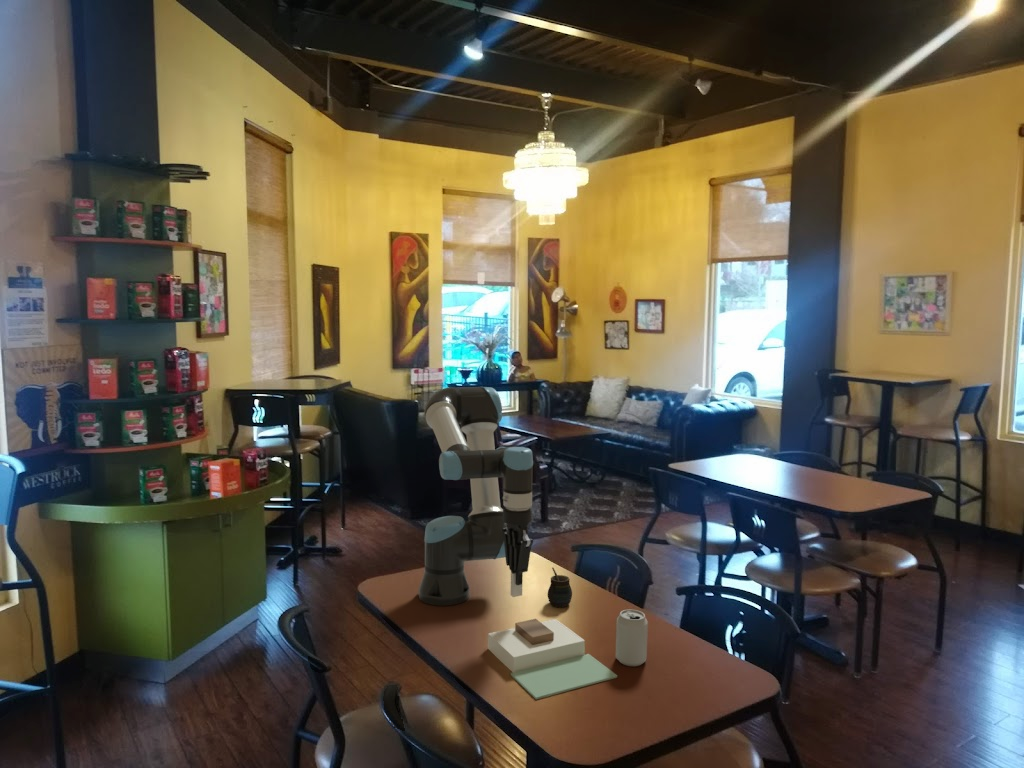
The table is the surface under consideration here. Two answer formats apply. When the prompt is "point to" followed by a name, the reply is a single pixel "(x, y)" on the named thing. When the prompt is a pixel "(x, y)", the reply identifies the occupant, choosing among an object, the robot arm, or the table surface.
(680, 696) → the table surface
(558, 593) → the mate gourd
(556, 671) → the mat
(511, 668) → the white flat block
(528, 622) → the brown wooden slab
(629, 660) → the can
